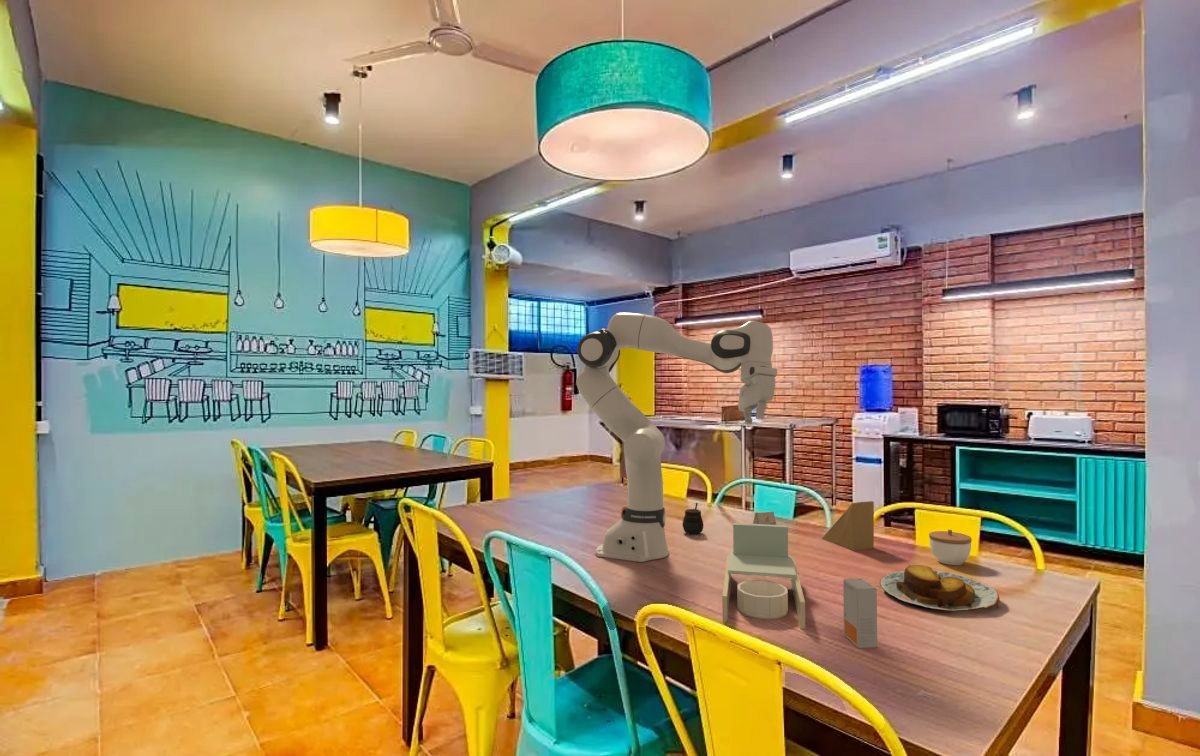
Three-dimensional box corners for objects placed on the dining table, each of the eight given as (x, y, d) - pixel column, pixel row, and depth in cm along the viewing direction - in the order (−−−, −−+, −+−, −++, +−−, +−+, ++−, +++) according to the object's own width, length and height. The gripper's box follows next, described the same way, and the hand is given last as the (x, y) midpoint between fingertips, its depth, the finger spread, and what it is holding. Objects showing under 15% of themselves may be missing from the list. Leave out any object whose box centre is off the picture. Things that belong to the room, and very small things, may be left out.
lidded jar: (931, 565, 172) (931, 532, 172) (927, 555, 182) (926, 524, 182) (975, 569, 168) (974, 536, 168) (967, 558, 178) (967, 527, 178)
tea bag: (752, 542, 198) (752, 511, 198) (770, 540, 200) (770, 510, 200) (758, 544, 195) (758, 514, 195) (776, 543, 197) (776, 512, 197)
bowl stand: (722, 621, 133) (722, 595, 133) (727, 575, 164) (727, 554, 164) (805, 629, 129) (805, 602, 129) (794, 580, 160) (794, 559, 160)
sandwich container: (841, 536, 205) (840, 492, 205) (874, 548, 190) (874, 501, 190) (820, 538, 202) (819, 494, 202) (852, 551, 188) (852, 502, 188)
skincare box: (842, 635, 125) (842, 578, 125) (862, 635, 126) (862, 577, 126) (857, 648, 119) (857, 588, 119) (878, 647, 120) (877, 587, 120)
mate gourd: (680, 535, 208) (680, 506, 208) (685, 529, 215) (684, 501, 215) (701, 536, 205) (701, 507, 205) (705, 531, 212) (705, 503, 212)
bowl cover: (727, 573, 147) (727, 537, 147) (729, 555, 163) (729, 522, 163) (796, 578, 144) (795, 541, 144) (791, 558, 159) (791, 525, 159)
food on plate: (1024, 611, 139) (1024, 582, 139) (936, 623, 132) (936, 593, 132) (936, 576, 163) (936, 552, 163) (858, 585, 157) (858, 560, 157)
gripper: (734, 382, 186) (731, 425, 183) (757, 365, 166) (755, 414, 163) (754, 384, 186) (752, 428, 183) (779, 368, 167) (777, 417, 163)
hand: (753, 421), depth 173 cm, fingers open, 8 cm apart
